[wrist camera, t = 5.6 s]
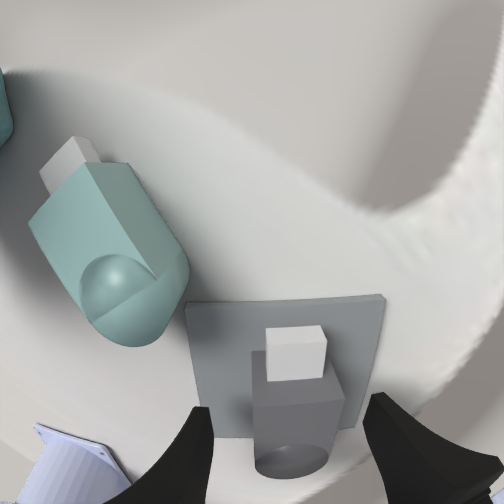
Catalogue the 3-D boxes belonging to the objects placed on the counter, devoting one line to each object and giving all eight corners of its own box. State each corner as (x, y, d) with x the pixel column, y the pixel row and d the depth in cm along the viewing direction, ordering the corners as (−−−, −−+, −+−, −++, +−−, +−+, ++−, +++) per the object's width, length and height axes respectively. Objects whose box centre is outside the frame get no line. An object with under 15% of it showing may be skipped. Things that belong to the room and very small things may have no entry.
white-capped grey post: (312, 427, 14) (323, 474, 11) (254, 431, 14) (255, 480, 11) (328, 313, 12) (353, 361, 9) (250, 316, 12) (251, 369, 9)
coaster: (352, 420, 15) (354, 427, 14) (208, 430, 15) (207, 437, 14) (380, 294, 13) (385, 299, 12) (186, 302, 12) (184, 308, 12)
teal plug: (205, 281, 12) (189, 322, 9) (147, 315, 13) (120, 359, 9) (109, 131, 10) (62, 120, 7) (59, 177, 11) (9, 183, 7)
